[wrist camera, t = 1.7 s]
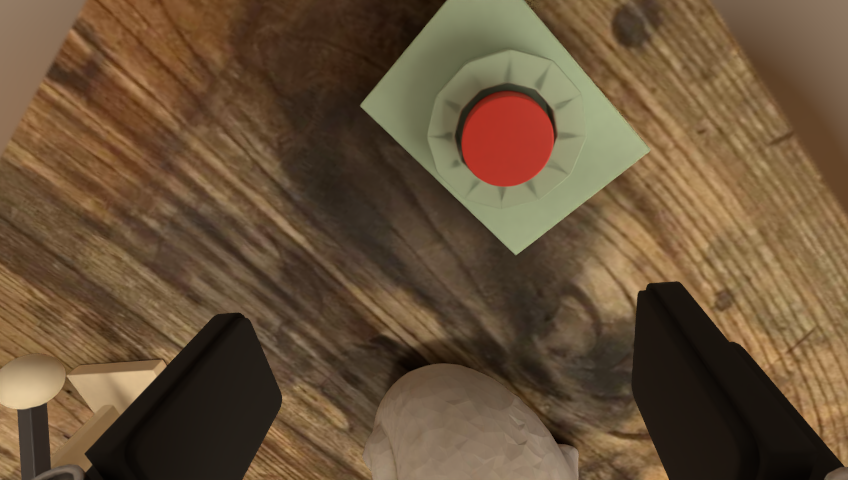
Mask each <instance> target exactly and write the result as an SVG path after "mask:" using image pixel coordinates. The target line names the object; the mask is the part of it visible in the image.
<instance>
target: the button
mask: <svg viewBox="0 0 848 480" xmlns="http://www.w3.org/2000/svg"><path fill="white" fill-rule="evenodd" d="M553 145H554V131H553V127H552V124H551V121H550V119H549V117H548V115H547V114H546V113H545V111H544V110H543V109H542V108H541V107H540V105H539V104H538V103H537V102H536V101H535V100H534V99H532V98H531V97H529V96H528V95H526V94H524V93H521V92H517V91H508V90H506V91H499V92H495V93H492V94H490V95H488V96H486V97H484V98H483V99H481V100H480V101H479V102H478V103H476V104H475V106H474V107H473V108H472V109H471V111H470V112H469V114H468V116H467V118H466V120H465V123H464V127H463V133H462V141H461V147H462V154H463V157H464V160H465V162H466V164H467V166H468V168H469V169H470V171H471V172H472V173H473V174H474V175H475V176H476V177H478V178H479V179H480V180H482V181H484V182H486V183H488V184H491V185H494V186H501V187H509V186H516V185H519V184H522V183H524V182H527V181H528V180H530V179H532V178H533V177H535V176H536V175H537V174H538V173H539V172H540V171H541V170H542V169H543V168H544V167H545V165H546V164H547V162H548V160H549V158H550V156H551V153H552V150H553Z"/></svg>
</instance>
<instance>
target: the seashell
mask: <svg viewBox="0 0 848 480" xmlns="http://www.w3.org/2000/svg"><path fill="white" fill-rule="evenodd" d="M362 456H363V460H364V462H365V464H366V466H367V467H368V468H369V470H370V471H371V472H372V477H373V480H579V479H578V456H579V453H578V450H577V449H576V448H574V447H573V446H569V445H565V444H557V443H556V442H555V440H554V438H553V437H552V435H551V433H550V432H549V430H548V429H547V428H546V427H545V425H544V424H543V423H542V422H541V420H540V419H539V418H538V416H537V415H536V414H535V413H534V412H533V411H532V410H531V409H530V408H529V407H528V406H527V405H526V404H524V402H523V401H522V400H521V399H520V398H519V397H518V396H516V395H514V394H513V393H511V392H510V391H509V390H508V389H507V388H506V387H505V386H503V385H502V384H501V383H499V382H498V381H496V380H494V379H493V378H491V377H489V376H487V375H484V374H482V373H480V372H478V371H476V370H474V369H471V368H467V367H464V366H461V365H455V364H446V363H442V364H433V365H428V366H424V367H421V368H418V369H415V370H413V371H410V372H408V373H407V374H405V375H404V376H402V377H401V378H400V379H399V380H397V381H396V382H395V383H394V384H393V385H392V386H391V388H390V389H389V390H388V391H387V392H386V394H385V396H384V397H383V399H382V401H381V402H380V405H379V407H378V410H377V413H376V417H375V422H374V427H373V432H372V434H371V435H370V436H369V438H368V439H367V441H366V445H365V449H364V452H363V455H362Z"/></svg>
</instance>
